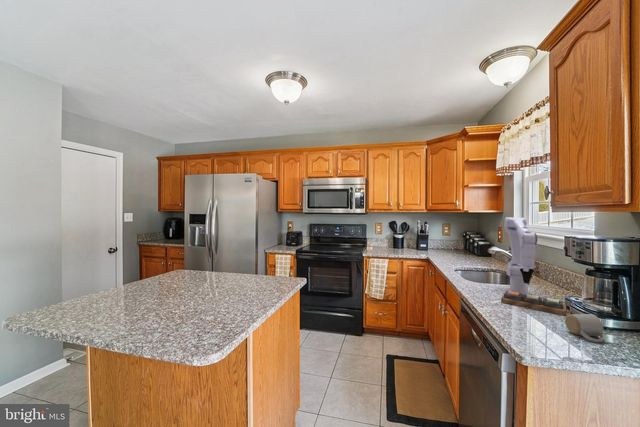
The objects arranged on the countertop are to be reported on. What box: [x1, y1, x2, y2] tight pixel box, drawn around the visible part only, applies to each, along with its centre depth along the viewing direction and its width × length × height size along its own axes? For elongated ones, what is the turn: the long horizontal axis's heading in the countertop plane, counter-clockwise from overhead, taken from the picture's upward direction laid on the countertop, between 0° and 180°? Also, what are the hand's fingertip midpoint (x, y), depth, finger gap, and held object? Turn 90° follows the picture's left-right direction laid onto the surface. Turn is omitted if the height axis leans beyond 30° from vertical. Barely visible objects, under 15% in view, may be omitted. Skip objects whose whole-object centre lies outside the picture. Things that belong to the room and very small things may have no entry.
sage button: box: [546, 297, 560, 304], centre depth 126 cm, size 4×4×2 cm
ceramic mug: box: [564, 313, 605, 343], centre depth 100 cm, size 11×8×8 cm
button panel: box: [500, 290, 567, 317], centre depth 131 cm, size 24×12×4 cm, turn 49°
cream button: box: [527, 294, 540, 300], centre depth 131 cm, size 4×4×2 cm
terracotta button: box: [508, 290, 520, 296], centre depth 136 cm, size 4×4×2 cm
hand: (526, 283), depth 137 cm, fingers closed
